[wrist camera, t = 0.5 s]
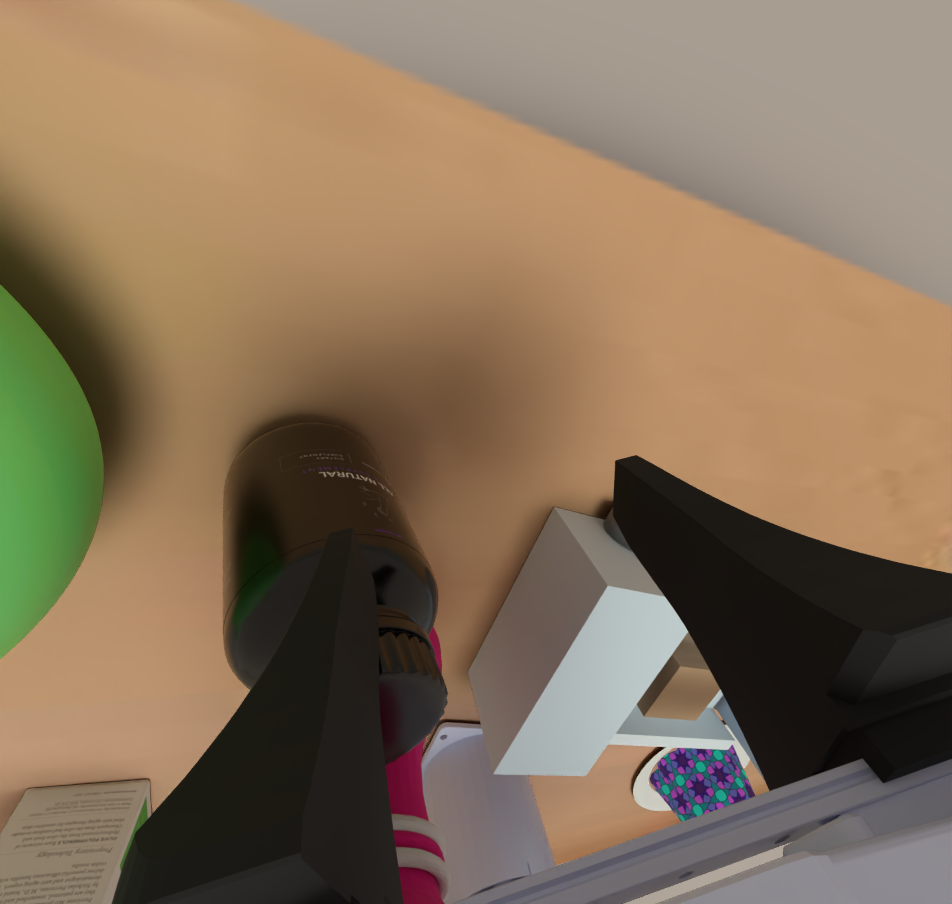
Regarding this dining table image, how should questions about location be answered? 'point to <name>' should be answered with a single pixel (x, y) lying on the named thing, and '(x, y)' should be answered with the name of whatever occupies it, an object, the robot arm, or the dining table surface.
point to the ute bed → (579, 656)
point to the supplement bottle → (297, 553)
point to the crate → (680, 686)
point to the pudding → (694, 780)
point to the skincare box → (70, 842)
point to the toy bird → (41, 474)
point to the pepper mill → (416, 826)
